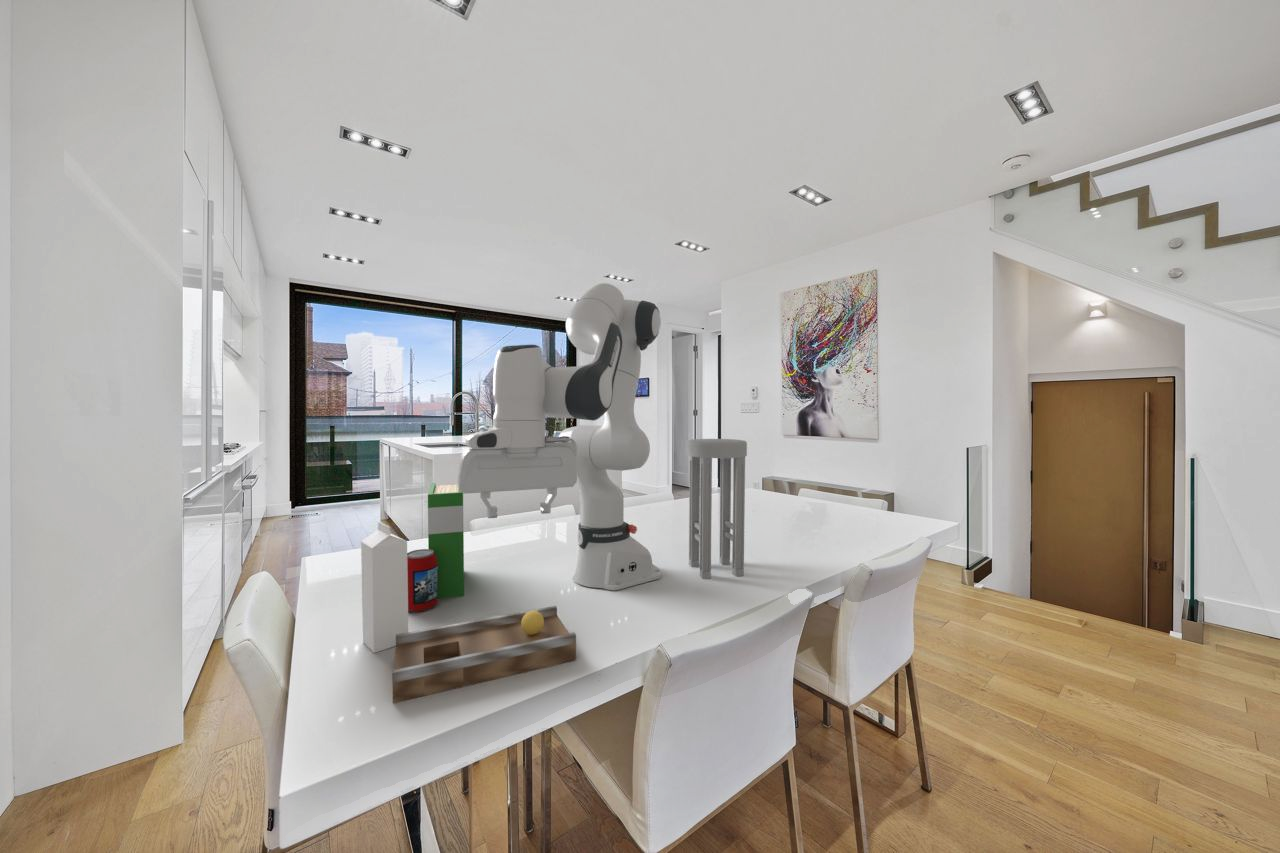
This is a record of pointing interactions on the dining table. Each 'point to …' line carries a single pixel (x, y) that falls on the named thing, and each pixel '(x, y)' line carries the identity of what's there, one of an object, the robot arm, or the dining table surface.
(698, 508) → the stool
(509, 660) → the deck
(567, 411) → the robot arm
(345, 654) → the dining table surface
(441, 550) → the hardback book
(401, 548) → the milk
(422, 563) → the beverage can
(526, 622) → the ball
